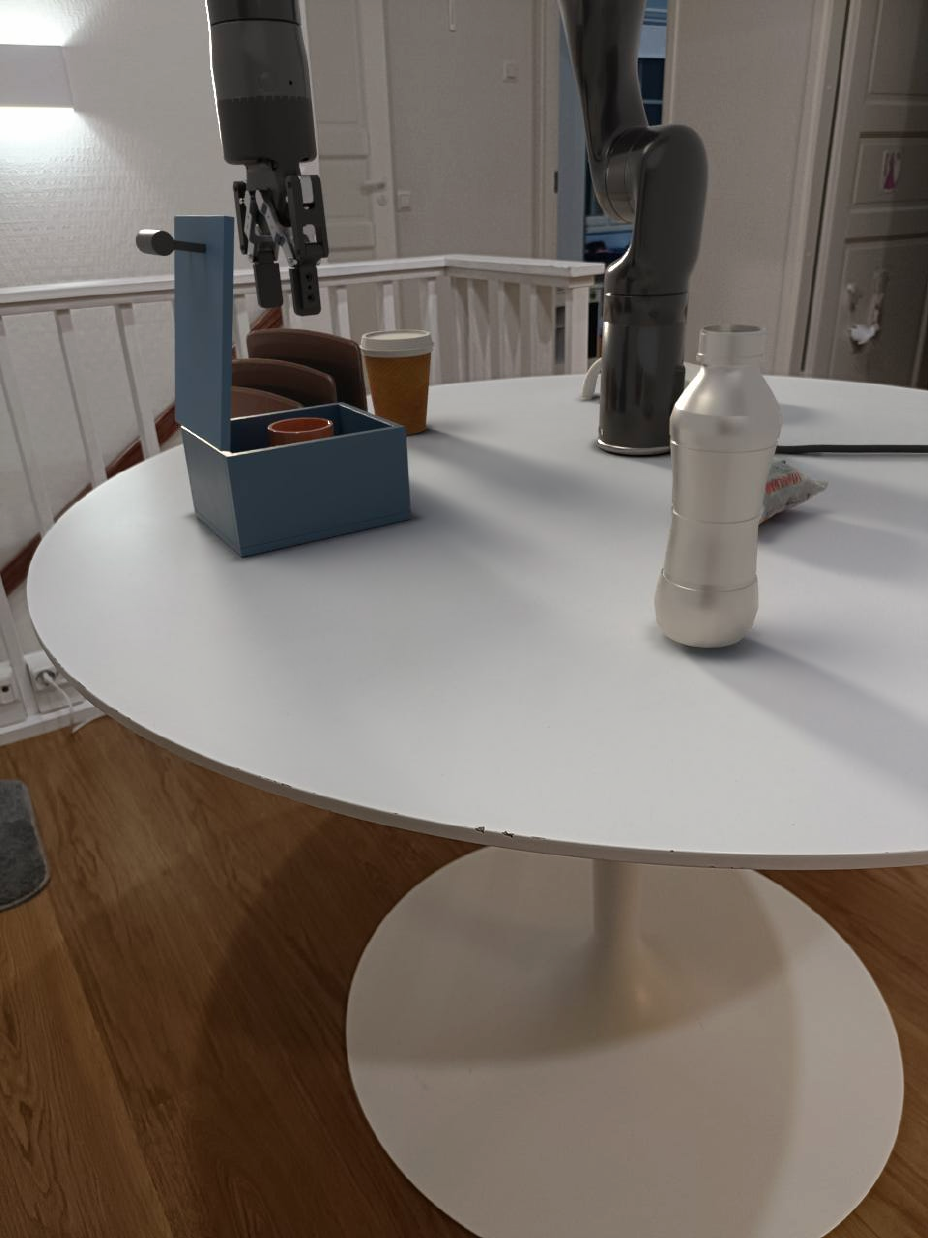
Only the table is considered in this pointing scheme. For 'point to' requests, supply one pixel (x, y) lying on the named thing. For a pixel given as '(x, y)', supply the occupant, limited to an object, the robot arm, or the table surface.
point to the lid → (201, 320)
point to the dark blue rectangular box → (300, 479)
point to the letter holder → (296, 372)
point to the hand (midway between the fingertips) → (288, 311)
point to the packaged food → (787, 489)
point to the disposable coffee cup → (399, 375)
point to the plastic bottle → (718, 490)
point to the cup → (299, 430)
